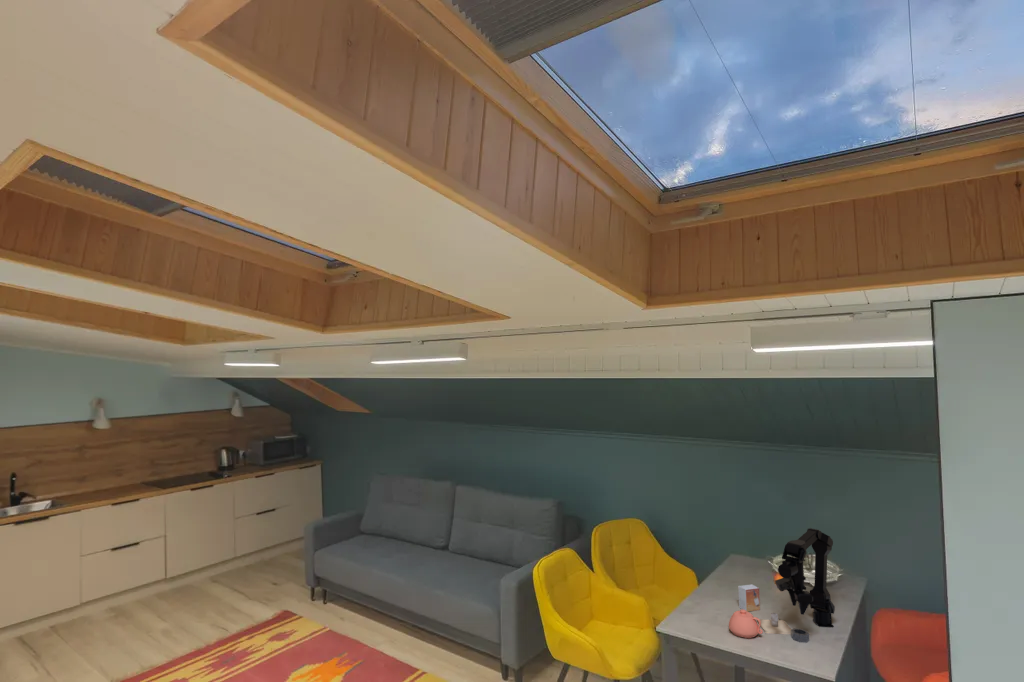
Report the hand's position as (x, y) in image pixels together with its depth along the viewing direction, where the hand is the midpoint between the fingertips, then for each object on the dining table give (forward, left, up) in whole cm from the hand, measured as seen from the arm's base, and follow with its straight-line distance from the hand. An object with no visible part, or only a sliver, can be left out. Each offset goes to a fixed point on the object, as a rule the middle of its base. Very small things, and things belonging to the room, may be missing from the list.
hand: (798, 609), depth 238 cm
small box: (+12, -30, -12) cm, 34 cm away
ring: (0, 0, -12) cm, 12 cm away
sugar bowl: (+22, -2, -12) cm, 25 cm away
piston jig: (+7, -10, -12) cm, 17 cm away
